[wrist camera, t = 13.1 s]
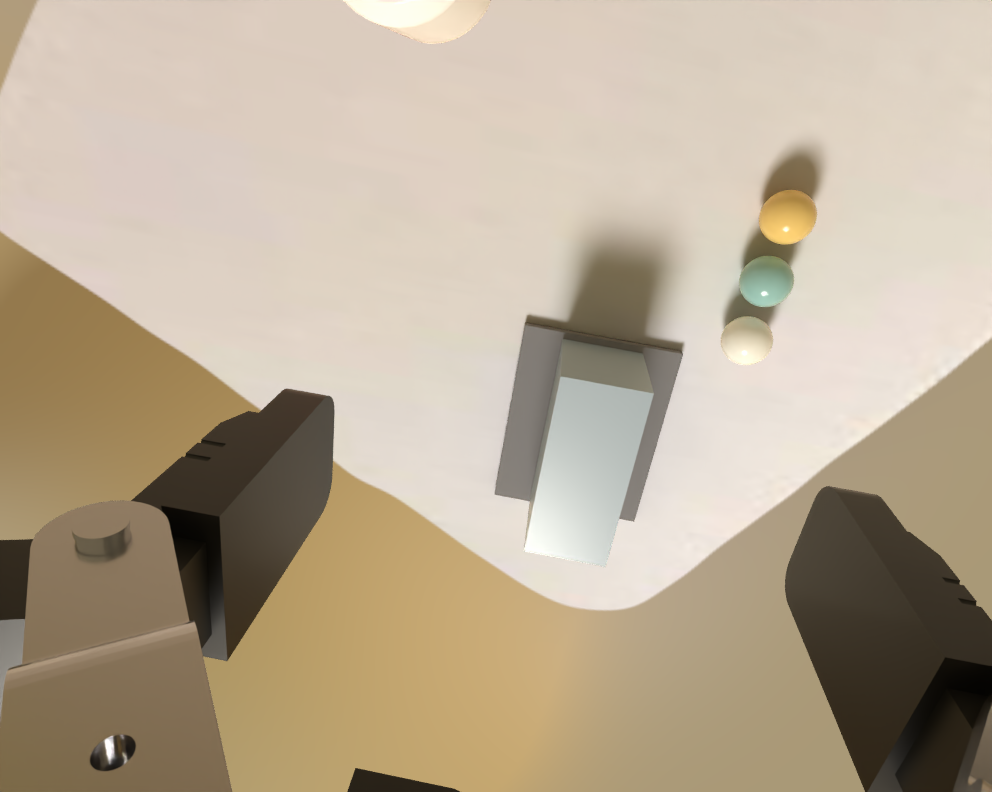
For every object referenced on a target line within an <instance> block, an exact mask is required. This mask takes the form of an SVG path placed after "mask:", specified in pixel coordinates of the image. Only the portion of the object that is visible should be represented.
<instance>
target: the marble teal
mask: <svg viewBox="0 0 992 792" xmlns="http://www.w3.org/2000/svg"><path fill="white" fill-rule="evenodd" d="M793 284H794V275H793V272H792V269H791V267H790V266H789V265H788V264H787V263H786V262H785V261H784V260H782V259H781V258H778V257H775V256H761V257H758V258H756V259H754V260H752V261H751V262H749V263H748V264H747V265H746V266H745V268H744V269H743V271H742V272H741V275H740V279H739V287H740V291H741V293H742V295H743V297H744V298H745V299H746V300H747V301H748V302H749V303H751V304H753V305H755V306H759V307H771V306H774V305H777V304H779V303H781V302H782V301H784V300H785V299H786V298H787V297H788V295H789V294H790V292H791V290H792V288H793Z"/></svg>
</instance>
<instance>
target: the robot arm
mask: <svg viewBox="0 0 992 792" xmlns="http://www.w3.org/2000/svg"><path fill="white" fill-rule="evenodd" d="M333 437H334V402H333V399H332V398H331V397H330V396H326V395H320V394H315V393H309V392H303V391H298V390H292V389H284V390H283V391H282V392H281V393H280V394H278V395H277V396H276V397H275V398H274V399H273V400H272V401H271V402H270V403H269V404H268V405H267V406H266V407H265V408H264V409H263V410H261V411H260V412H259V413H256V412H250V411H248V412H246V413H243V414H241V415H238V416H236V417H234V418H231V419H229V420H226V421H224V422H222V423H220V424H219V425H218V426H216V427H215V428H214V429H213V430H212V431H211V432H209V433H208V434H207V435H206V436H205V437H204V438H203V439H202V441H201V443H197V444H196V445H195V446H194V447H192V448H191V449H190V450H189V451H188V452H187V453H186V456H185V457H181V458H180V459H178V460H177V461H176V462H175V463H174V464H173V465H172V466H170V467H169V468H168V469H167V470H166V471H165V472H164V473H162V474H161V475H160V476H159V477H158V478H157V479H156V480H154V481H153V482H152V483H151V484H150V485H149V486H147V487H146V488H145V489H144V490H143V491H142V492H141V493H139V494H138V495H137V496H136V497H135V498H134V499H133V500H131V501H108V502H100V503H95V504H90V505H86V506H83V507H80V508H77V509H74V510H71V511H69V512H67V513H64V514H63V515H60V516H59V517H57V518H55V519H54V520H52V521H50V522H49V523H48V524H46V525H45V526H44V527H43V528H42V529H41V530H40V531H39V532H38V533H37V534H36V535H35V537H34V539H30V540H0V792H232V789H231V784H230V780H229V775H228V770H227V766H226V761H225V756H224V752H223V747H222V743H221V738H220V733H219V729H218V724H217V719H216V715H215V710H214V705H213V701H212V696H211V691H210V687H209V682H208V677H207V673H206V668H205V664H204V659H203V656H205V657H209V658H215V659H220V660H224V661H227V660H228V659H229V657H230V656H231V654H232V653H233V651H234V650H235V648H236V646H237V645H238V644H239V642H240V640H241V639H242V637H243V636H244V634H245V633H246V631H247V629H248V628H249V626H250V625H251V623H252V622H253V620H254V619H255V617H256V615H257V614H258V612H259V611H260V609H261V608H262V606H263V605H264V603H265V602H266V600H267V598H268V597H269V595H270V594H271V592H272V591H273V589H274V588H275V586H276V584H277V582H278V581H279V579H280V578H281V577H282V575H283V574H284V572H285V570H286V569H287V567H288V566H289V564H290V563H291V561H292V560H293V558H294V556H295V555H296V553H297V552H298V550H299V549H300V547H301V546H302V544H303V542H304V541H305V539H306V538H307V536H308V534H309V533H310V532H311V530H312V528H313V527H314V525H315V524H316V522H317V521H318V519H319V518H320V516H321V514H322V513H323V511H324V508H325V506H326V503H327V500H328V497H329V493H330V489H331V483H332V467H333ZM959 582H960V580H959V579H958V577H957V576H956V575H955V574H954V573H953V571H952V570H951V569H950V567H949V566H948V565H947V564H946V562H945V561H944V560H943V559H942V557H941V556H940V555H939V554H937V553H936V552H935V551H933V550H932V549H931V548H930V547H928V546H927V545H926V544H924V543H923V542H922V541H921V540H919V539H918V538H917V537H915V536H914V535H913V534H911V533H910V532H907V531H906V530H905V529H904V527H903V526H902V524H901V523H900V522H899V520H898V519H897V518H896V516H895V515H894V514H893V512H892V511H891V510H890V508H889V507H888V506H887V505H886V503H885V502H884V501H883V499H882V498H881V497H879V496H878V495H875V494H869V493H864V492H858V491H852V490H846V489H841V488H836V487H830V486H828V487H824V488H823V489H821V490H820V492H819V493H818V494H817V496H816V498H815V500H814V502H813V505H812V507H811V510H810V512H809V514H808V517H807V519H806V522H805V524H804V527H803V529H802V532H801V534H800V536H799V539H798V542H797V544H796V546H795V549H794V551H793V554H792V556H791V559H790V561H789V564H788V567H787V572H786V579H785V592H786V598H787V602H788V605H789V607H790V610H791V612H792V615H793V617H794V620H795V622H796V624H797V627H798V629H799V632H800V634H801V637H802V639H803V642H804V644H805V646H806V649H807V651H808V653H809V656H810V659H811V661H812V663H813V666H814V668H815V671H816V673H817V676H818V678H819V680H820V683H821V685H822V688H823V690H824V692H825V695H826V697H827V700H828V702H829V705H830V707H831V710H832V712H833V714H834V717H835V719H836V722H837V724H838V727H839V729H840V732H841V734H842V736H843V739H844V741H845V744H846V746H847V749H848V751H849V753H850V756H851V758H852V761H853V763H854V766H855V768H856V770H857V773H858V775H859V778H860V780H861V783H862V785H863V787H864V790H865V792H992V620H991V619H990V618H989V616H988V615H987V614H986V613H985V611H984V610H983V609H982V608H981V607H978V606H976V600H975V599H974V598H973V596H972V595H971V594H970V593H969V591H968V590H967V589H966V588H965V586H964V585H960V584H959ZM348 792H460V791H457V790H456V789H452V788H448V787H443V786H438V785H434V784H429V783H424V782H419V781H415V780H410V779H405V778H400V777H396V776H391V775H385V774H381V773H376V772H372V771H367V770H362V769H358V768H355V771H354V774H353V777H352V780H351V783H350V786H349V789H348Z"/></svg>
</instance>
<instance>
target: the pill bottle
mask: <svg viewBox="0 0 992 792" xmlns="http://www.w3.org/2000/svg"><path fill="white" fill-rule="evenodd" d="M343 1H344V2H345V3H346V4H347V5H348V6H349V7H350V8H352V9H353V10H354V11H355V12H356V13H358V14H359V15H361V16H362V17H364V18H366V19H367V20H369V21H371V22H373V23H375V24H377V25H380V26H382V27H384V28H387V29H389V30H391V31H393V32H396V33H398V34H400V35H402V36H405V37H407V38H409V39H412V40H415V41H418V42H421V43H430V44H437V43H446V42H449V41H451V40H454V39H457V38H459V37H461V36H462V35H464V34H465V33H467V32H469V31H470V30H471V29H472V28H473V27H474V26H475V25H476V24H477V23H478V22H479V21H480V19H481V18H482V16H483V15H484V14H485V12H486V11H487V8H488V6H489V4H490V2H491V0H343Z"/></svg>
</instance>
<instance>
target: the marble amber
mask: <svg viewBox="0 0 992 792" xmlns="http://www.w3.org/2000/svg"><path fill="white" fill-rule="evenodd" d="M816 218H817V210H816V206H815V204H814V202H813V200H812V199H811V198H810V197H809V196H808V195H807V194H805V193H803V192H801V191H797V190H784V191H781V192H778V193H776V194H774V195H773V196H771V197H770V198H769V199H768V200H767V201H766V202H765V204H764V205H763V207H762V209H761V211H760V215H759V225H760V229H761V231H762V233H763V234H764V235H765V237H766V238H768V239H769V240H770V241H772V242H774V243H777V244H793V243H796V242H798V241H800V240H802V239H803V238H805V237H806V236H807V235H808V234H809V233H810V232H811V230H812V229H813V227H814V225H815V223H816Z"/></svg>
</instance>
